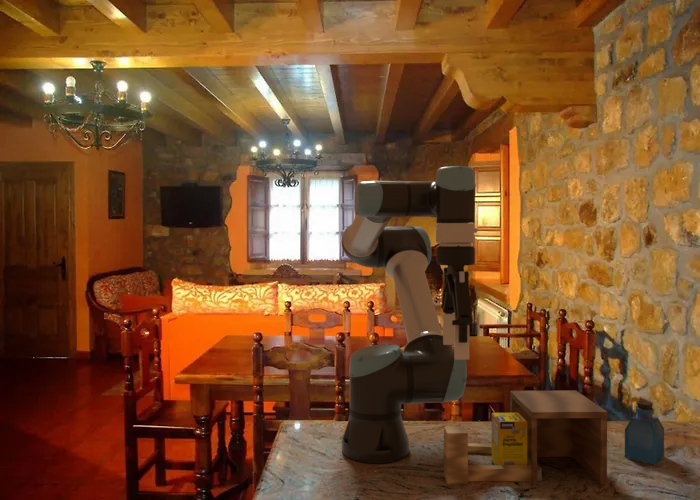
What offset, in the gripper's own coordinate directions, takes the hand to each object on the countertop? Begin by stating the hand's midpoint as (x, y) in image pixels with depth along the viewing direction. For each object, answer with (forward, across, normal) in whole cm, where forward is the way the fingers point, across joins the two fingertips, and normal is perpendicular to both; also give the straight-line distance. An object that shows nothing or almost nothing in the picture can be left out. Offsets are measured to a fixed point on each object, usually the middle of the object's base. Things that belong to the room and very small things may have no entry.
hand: (455, 351), depth 112 cm
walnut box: (+25, +4, -21) cm, 33 cm away
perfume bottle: (+26, +10, -43) cm, 51 cm away
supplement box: (+26, +4, -12) cm, 28 cm away
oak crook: (+25, +3, -7) cm, 27 cm away
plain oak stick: (+26, +13, -9) cm, 30 cm away
